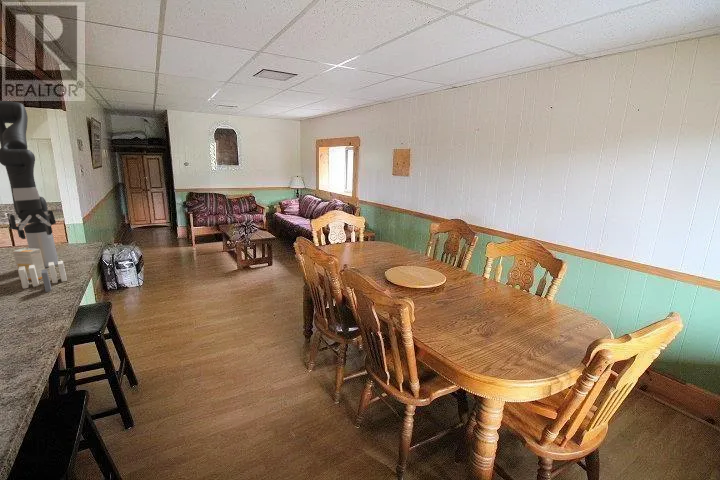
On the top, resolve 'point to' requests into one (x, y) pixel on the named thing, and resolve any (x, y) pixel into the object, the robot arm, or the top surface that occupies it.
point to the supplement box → (29, 260)
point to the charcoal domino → (46, 280)
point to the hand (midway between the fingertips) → (36, 236)
